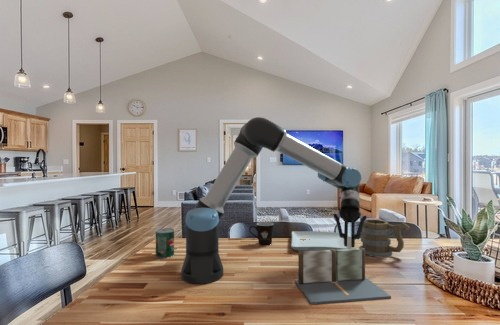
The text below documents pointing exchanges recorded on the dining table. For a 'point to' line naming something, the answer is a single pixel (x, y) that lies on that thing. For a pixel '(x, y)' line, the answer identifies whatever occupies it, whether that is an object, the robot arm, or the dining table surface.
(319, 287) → the card
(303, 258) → the panel
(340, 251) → the folding panel
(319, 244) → the square plate
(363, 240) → the tankard
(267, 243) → the coffee mug
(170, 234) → the canned tomato
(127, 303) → the dining table surface
